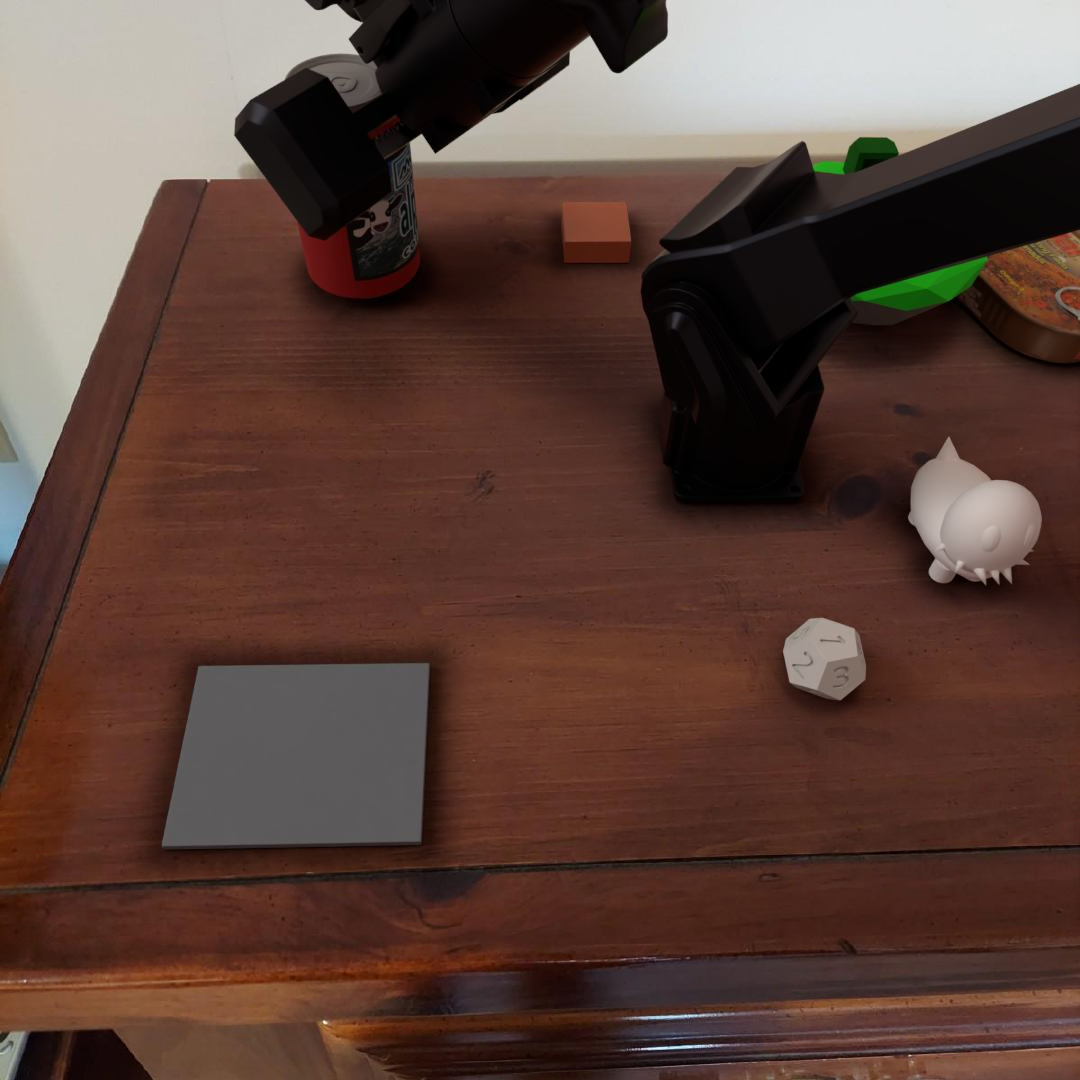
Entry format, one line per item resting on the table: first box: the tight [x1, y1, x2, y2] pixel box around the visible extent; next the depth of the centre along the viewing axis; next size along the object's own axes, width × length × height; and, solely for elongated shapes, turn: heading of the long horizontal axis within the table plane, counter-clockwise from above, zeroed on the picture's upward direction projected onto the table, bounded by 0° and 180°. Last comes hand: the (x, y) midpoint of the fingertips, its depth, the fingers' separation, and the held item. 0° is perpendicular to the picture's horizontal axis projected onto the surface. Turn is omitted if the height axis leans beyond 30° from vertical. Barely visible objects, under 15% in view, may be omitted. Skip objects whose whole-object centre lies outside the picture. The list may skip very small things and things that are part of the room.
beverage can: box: [284, 53, 421, 300], centre depth 56 cm, size 7×7×12 cm
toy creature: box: [907, 436, 1043, 586], centre depth 46 cm, size 5×8×6 cm, turn 4°
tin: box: [955, 230, 1080, 364], centre depth 60 cm, size 15×3×8 cm
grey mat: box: [161, 662, 431, 851], centre depth 42 cm, size 10×8×1 cm
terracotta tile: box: [561, 201, 632, 264], centre depth 62 cm, size 4×4×2 cm
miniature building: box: [812, 136, 987, 326], centre depth 55 cm, size 12×12×11 cm
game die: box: [782, 617, 867, 701], centre depth 43 cm, size 4×4×3 cm
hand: (343, 157), depth 55 cm, fingers open, 9 cm apart
